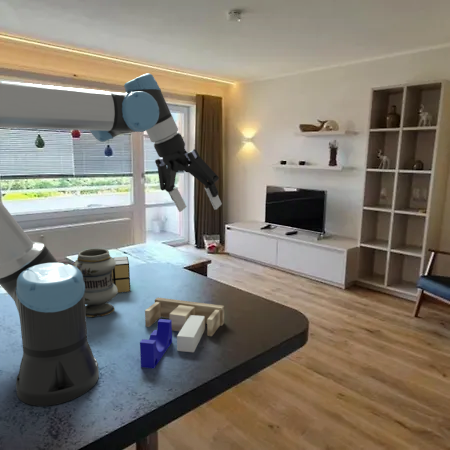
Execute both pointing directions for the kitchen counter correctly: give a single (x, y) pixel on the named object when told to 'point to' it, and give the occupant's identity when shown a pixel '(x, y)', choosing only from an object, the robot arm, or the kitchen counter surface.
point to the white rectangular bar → (191, 333)
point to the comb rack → (185, 313)
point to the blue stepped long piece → (156, 344)
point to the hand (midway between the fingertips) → (199, 208)
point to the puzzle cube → (121, 274)
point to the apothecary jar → (97, 280)
